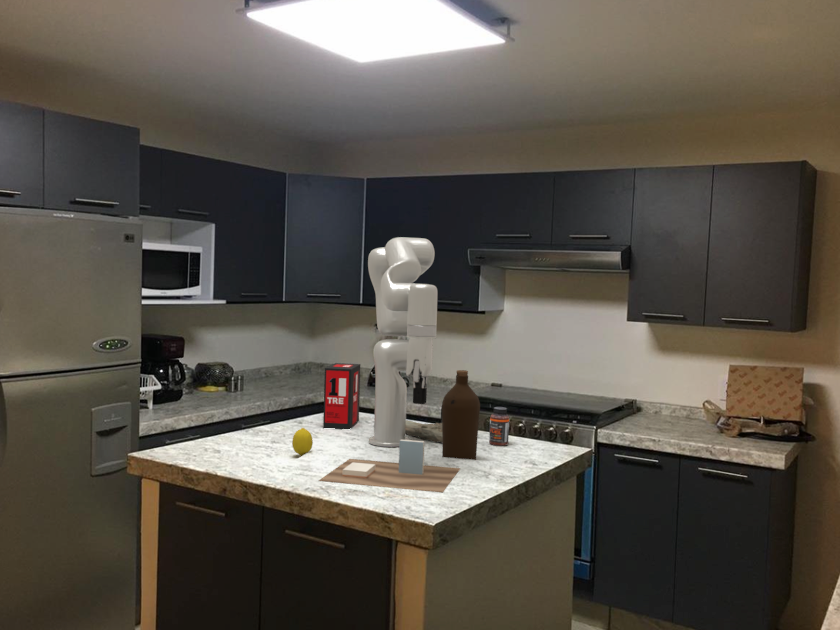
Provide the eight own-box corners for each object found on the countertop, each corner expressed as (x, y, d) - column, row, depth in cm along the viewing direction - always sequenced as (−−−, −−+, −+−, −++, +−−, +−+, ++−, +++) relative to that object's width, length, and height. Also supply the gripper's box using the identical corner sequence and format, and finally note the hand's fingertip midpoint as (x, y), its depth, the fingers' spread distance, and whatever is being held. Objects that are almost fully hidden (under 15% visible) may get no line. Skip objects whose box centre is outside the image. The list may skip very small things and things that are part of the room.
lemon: (308, 459, 209) (309, 430, 209) (288, 457, 210) (289, 428, 210) (314, 455, 214) (315, 426, 214) (296, 453, 215) (297, 425, 215)
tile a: (352, 462, 194) (342, 469, 186) (375, 464, 193) (366, 471, 185) (352, 468, 194) (342, 476, 187) (375, 470, 193) (366, 478, 185)
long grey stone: (402, 429, 265) (378, 433, 259) (401, 413, 265) (377, 418, 259) (470, 442, 237) (445, 447, 231) (469, 425, 237) (444, 430, 231)
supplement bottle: (486, 444, 236) (487, 408, 235) (492, 441, 241) (493, 405, 241) (505, 447, 233) (506, 410, 233) (510, 443, 239) (511, 407, 238)
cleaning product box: (349, 429, 252) (351, 369, 252) (323, 428, 253) (324, 368, 252) (358, 421, 269) (360, 364, 268) (333, 419, 270) (335, 363, 269)
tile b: (400, 471, 193) (401, 439, 193) (423, 473, 192) (424, 441, 192) (398, 472, 192) (399, 440, 192) (422, 474, 191) (423, 442, 190)
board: (349, 464, 205) (349, 458, 205) (460, 474, 198) (460, 468, 198) (318, 487, 182) (318, 480, 182) (442, 498, 175) (442, 492, 175)
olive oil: (479, 464, 209) (482, 373, 208) (440, 463, 209) (443, 372, 208) (476, 456, 220) (480, 369, 219) (439, 454, 220) (442, 367, 219)
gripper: (414, 330, 205) (412, 398, 206) (400, 333, 191) (398, 406, 191) (441, 331, 204) (439, 400, 204) (429, 334, 189) (427, 408, 190)
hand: (419, 403), depth 198 cm, fingers closed
